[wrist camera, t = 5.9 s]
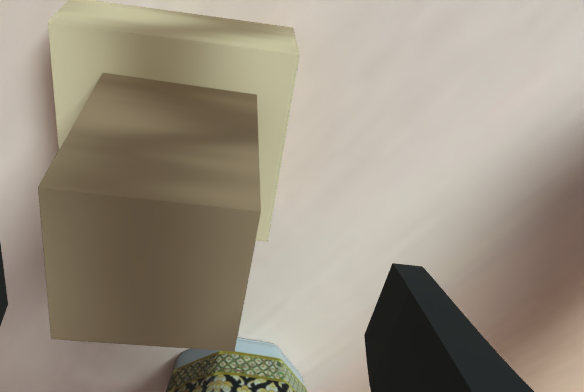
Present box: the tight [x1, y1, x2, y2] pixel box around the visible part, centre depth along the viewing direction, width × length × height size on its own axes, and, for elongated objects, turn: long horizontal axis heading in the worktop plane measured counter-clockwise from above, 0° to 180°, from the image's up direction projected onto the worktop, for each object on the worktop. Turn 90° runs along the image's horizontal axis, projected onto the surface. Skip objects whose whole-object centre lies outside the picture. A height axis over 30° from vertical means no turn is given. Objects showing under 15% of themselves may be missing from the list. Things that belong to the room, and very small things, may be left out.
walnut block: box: [38, 73, 261, 352], centre depth 15 cm, size 4×4×6 cm
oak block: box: [48, 0, 299, 241], centre depth 19 cm, size 7×7×3 cm
